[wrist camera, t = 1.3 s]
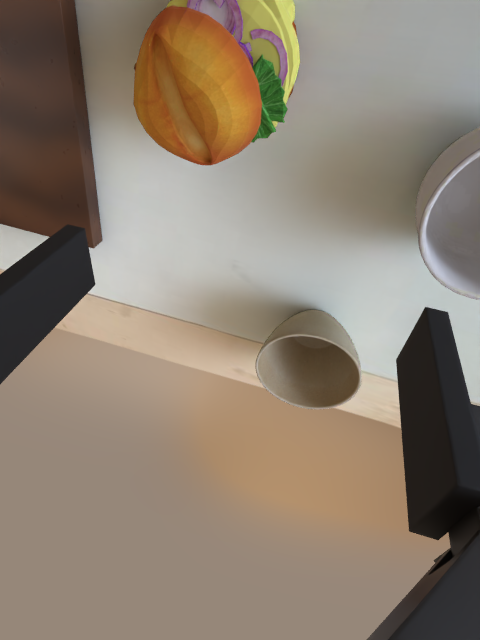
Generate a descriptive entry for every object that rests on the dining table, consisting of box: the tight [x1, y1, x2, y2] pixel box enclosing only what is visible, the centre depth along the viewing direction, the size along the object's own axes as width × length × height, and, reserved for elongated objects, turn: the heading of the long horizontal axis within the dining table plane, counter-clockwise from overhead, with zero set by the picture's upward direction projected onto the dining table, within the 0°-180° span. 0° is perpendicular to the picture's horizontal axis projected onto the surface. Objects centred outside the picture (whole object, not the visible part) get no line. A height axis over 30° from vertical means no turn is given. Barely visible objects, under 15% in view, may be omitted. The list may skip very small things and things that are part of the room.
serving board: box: [0, 0, 102, 248], centre depth 34 cm, size 24×15×2 cm, turn 172°
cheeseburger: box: [134, 0, 300, 165], centre depth 26 cm, size 10×11×10 cm
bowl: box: [256, 310, 362, 409], centre depth 39 cm, size 10×10×7 cm
